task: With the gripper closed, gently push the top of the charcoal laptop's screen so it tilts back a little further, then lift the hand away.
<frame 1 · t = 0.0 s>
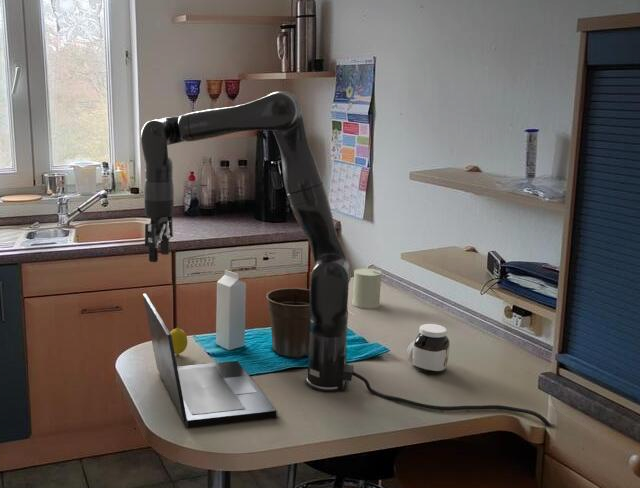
hand: (159, 257, 194), 29 cm above the breakfast bar, tool pointing down, fingers open, 8 cm apart
spread jar: (424, 367, 199), on the breakfast bar
can: (365, 305, 250), on the breakfast bar
laptop screen: (163, 353, 175), point 12 cm above the breakfast bar, hinge at 100.0°
laptop: (214, 394, 181), on the breakfast bar
plant pot: (293, 350, 209), on the breakfast bar
lemon: (177, 355, 205), on the breakfast bar
milk: (230, 345, 213), on the breakfast bar
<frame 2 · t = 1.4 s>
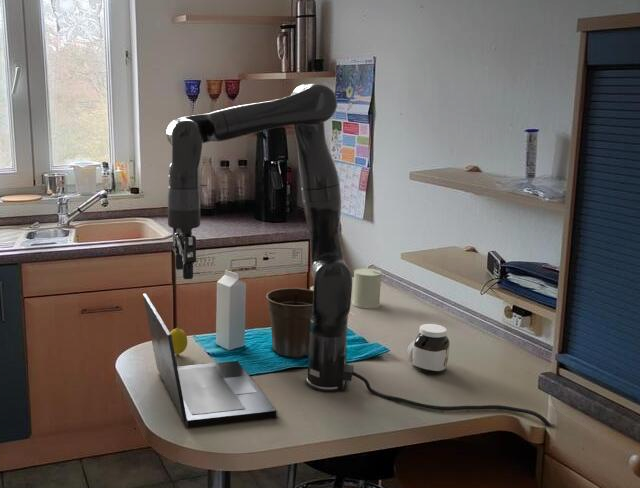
hand: (183, 273, 173), 31 cm above the breakfast bar, tool pointing down, fingers open, 8 cm apart
nothing on the breakfast bar moved.
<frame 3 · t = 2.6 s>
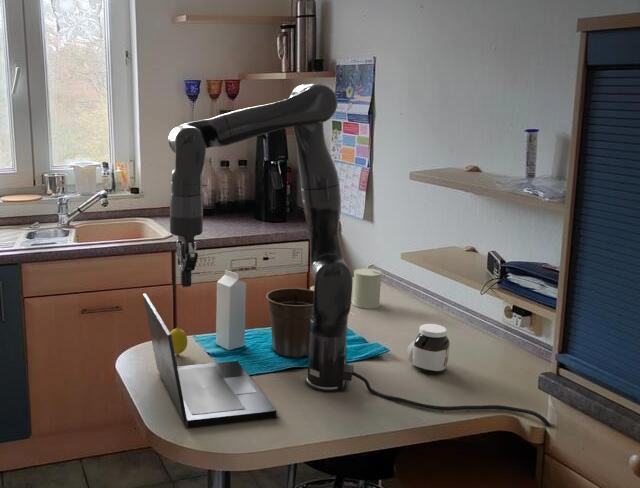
hand: (185, 285, 172), 28 cm above the breakfast bar, tool pointing down, fingers closed
nothing on the breakfast bar moved.
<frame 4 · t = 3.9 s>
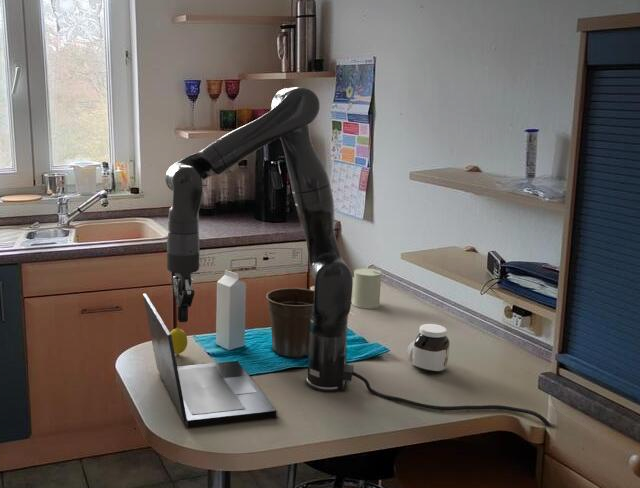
hand: (182, 321, 174), 20 cm above the breakfast bar, tool pointing down, fingers closed
nothing on the breakfast bar moved.
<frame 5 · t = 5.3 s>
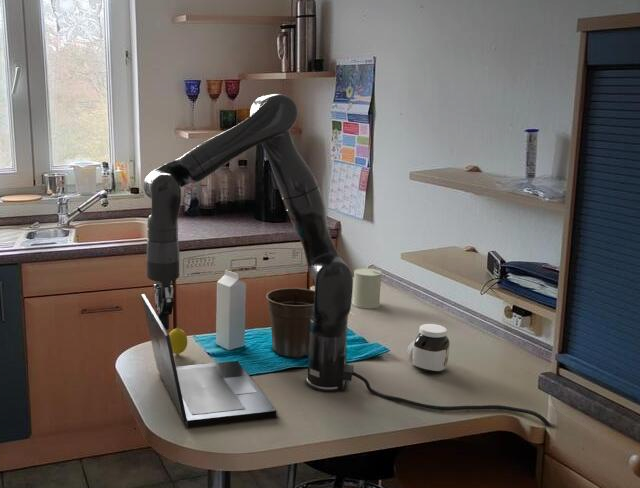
hand: (163, 328, 173), 18 cm above the breakfast bar, tool pointing down, fingers closed
laptop screen: (162, 353, 175), point 12 cm above the breakfast bar, hinge at 101.2°, touching gripper
everything else where it was.
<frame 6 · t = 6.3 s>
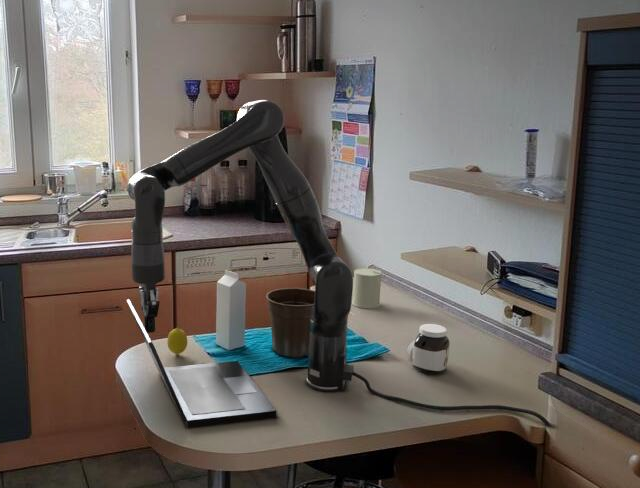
hand: (150, 331, 173), 18 cm above the breakfast bar, tool pointing down, fingers closed
laptop screen: (155, 356, 174), point 11 cm above the breakfast bar, hinge at 112.1°, touching gripper
everything else where it was.
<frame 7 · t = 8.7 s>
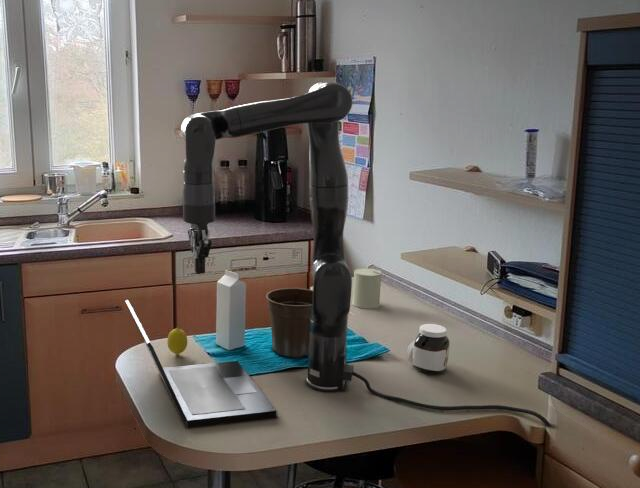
hand: (199, 272, 175), 31 cm above the breakfast bar, tool pointing down, fingers closed
laptop screen: (154, 357, 174), point 11 cm above the breakfast bar, hinge at 113.1°
everything else where it was.
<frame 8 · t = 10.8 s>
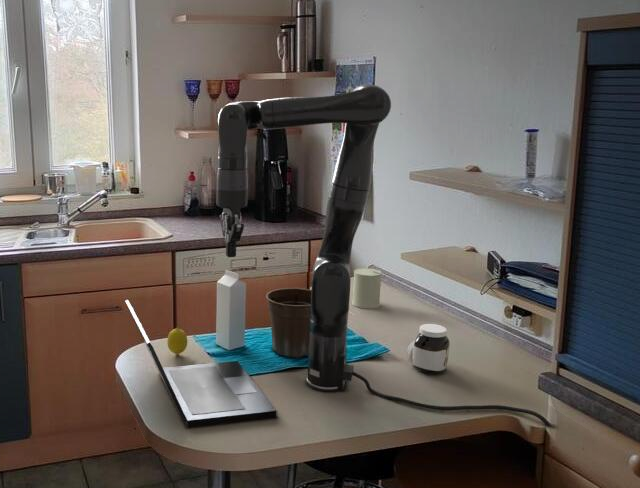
hand: (230, 256, 181), 33 cm above the breakfast bar, tool pointing down, fingers closed
nothing on the breakfast bar moved.
at the end: laptop screen at +113° (first picture: +100°); laptop screen reached +113° during the clip, +113° at the end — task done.
